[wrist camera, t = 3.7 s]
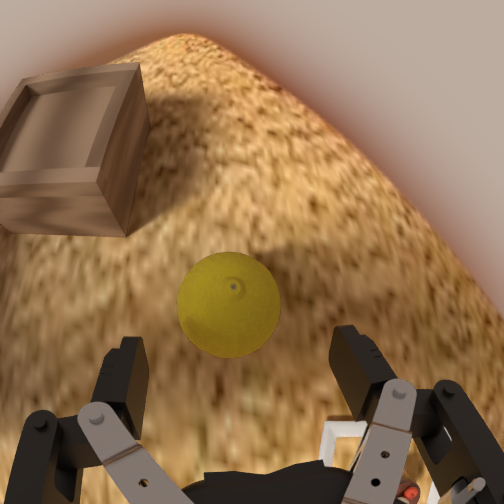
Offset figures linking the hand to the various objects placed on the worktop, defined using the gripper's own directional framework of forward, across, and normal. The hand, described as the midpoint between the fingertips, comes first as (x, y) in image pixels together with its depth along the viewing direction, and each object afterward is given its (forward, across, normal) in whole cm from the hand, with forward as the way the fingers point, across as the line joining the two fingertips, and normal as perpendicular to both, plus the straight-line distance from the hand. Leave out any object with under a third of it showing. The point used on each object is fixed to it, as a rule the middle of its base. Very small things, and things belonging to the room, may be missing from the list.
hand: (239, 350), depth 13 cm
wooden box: (+16, +12, -5) cm, 21 cm away
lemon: (+8, 0, +4) cm, 8 cm away
